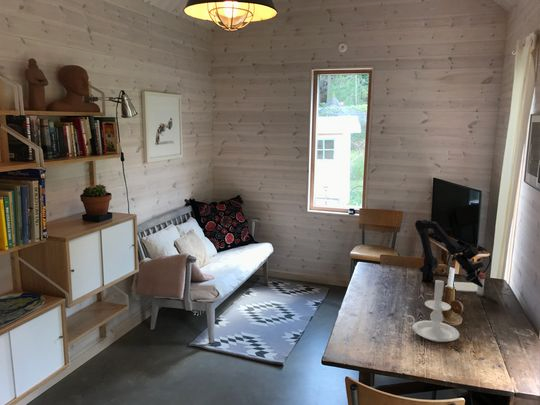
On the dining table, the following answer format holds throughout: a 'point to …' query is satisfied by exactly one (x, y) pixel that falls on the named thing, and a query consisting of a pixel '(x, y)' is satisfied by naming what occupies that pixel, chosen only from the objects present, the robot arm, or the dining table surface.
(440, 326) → the candlestick
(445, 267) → the lion figurine
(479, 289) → the marker
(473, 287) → the notepad
